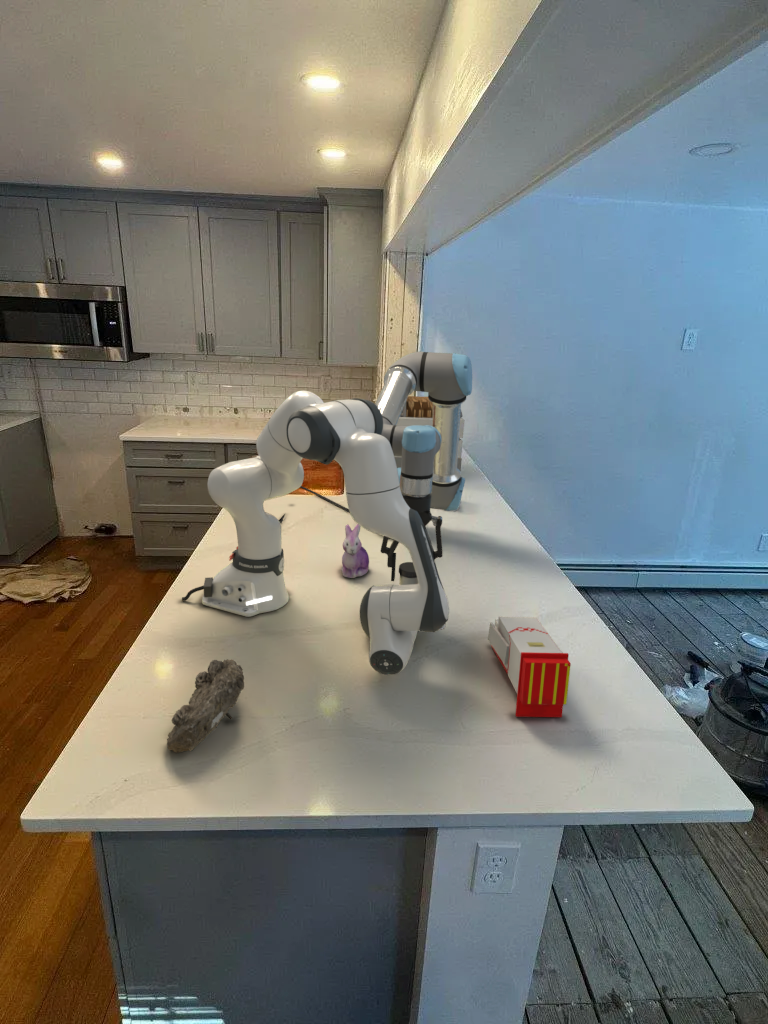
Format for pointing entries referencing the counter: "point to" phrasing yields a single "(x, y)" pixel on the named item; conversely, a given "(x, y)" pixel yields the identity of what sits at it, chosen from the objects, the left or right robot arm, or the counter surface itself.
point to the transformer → (423, 420)
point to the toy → (531, 665)
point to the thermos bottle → (407, 580)
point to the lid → (407, 570)
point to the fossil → (206, 705)
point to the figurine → (354, 554)
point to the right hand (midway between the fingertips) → (409, 580)
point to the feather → (281, 518)
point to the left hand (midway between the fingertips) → (409, 596)
